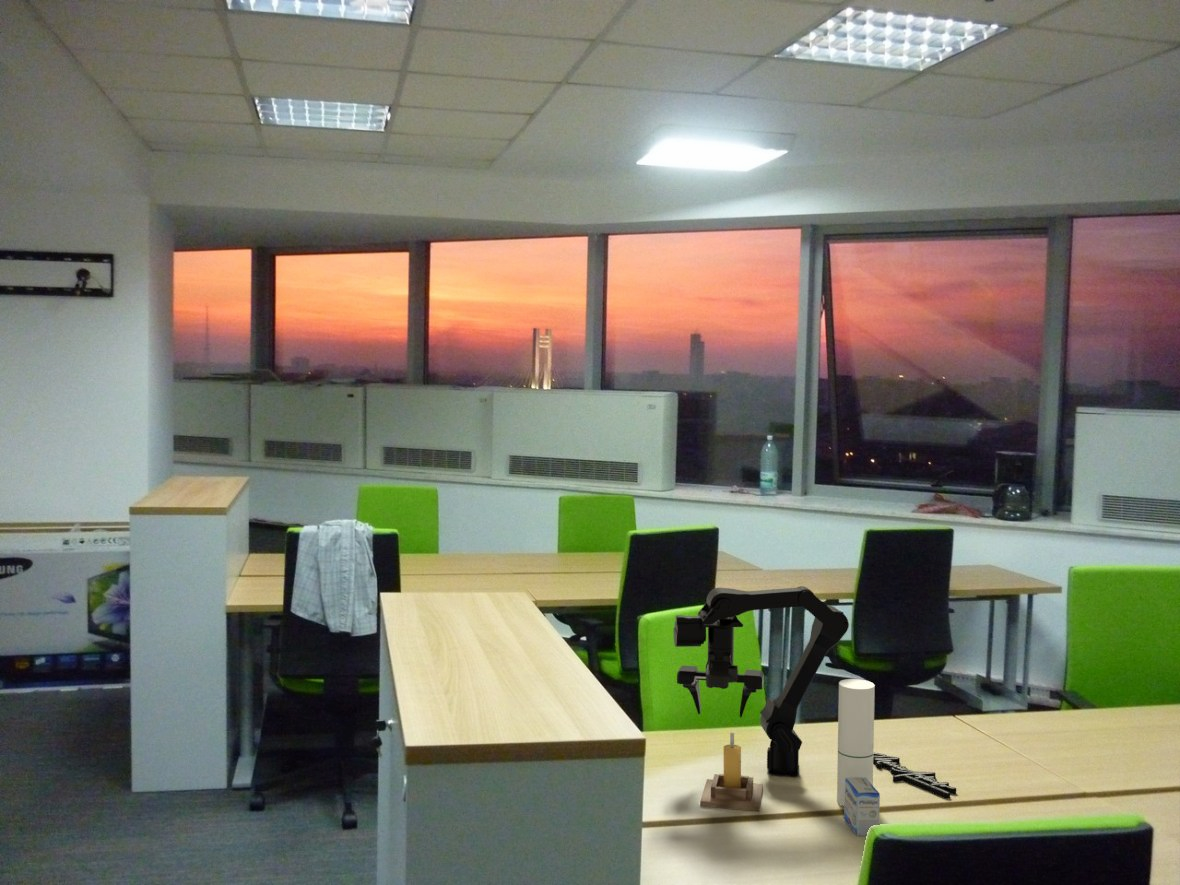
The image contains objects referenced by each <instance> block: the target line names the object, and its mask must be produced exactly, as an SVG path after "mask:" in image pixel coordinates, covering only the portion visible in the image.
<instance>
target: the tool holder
mask: <svg viewBox="0 0 1180 885" xmlns="http://www.w3.org/2000/svg"><path fill="white" fill-rule="evenodd" d="M763 790H764V784H763V783H758V782H757V783H754V777H753V776H752V777H751V776H749V775H742V774H741V789H739V788H727V787H724V773H718V774H717V773H715V774H714V775H713V778H712V779H711V778H706V781H705V784H704V787H703V791H702V794H701V798H700V802H699V806H700V807H709V808H719V809H729V808H731V809H730V810H739V809H740V810H741V811H750V810H753V811H752V812H760V809H761V801H762V797H763ZM743 809H744V810H743Z"/></svg>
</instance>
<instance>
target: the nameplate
mask: <svg viewBox="0 0 1180 885" xmlns="http://www.w3.org/2000/svg"><path fill="white" fill-rule="evenodd" d="M900 758H901V757H897V756H889V755H887V754H884V753H879V752H873V766H874V765H875V768H876V769H877V770H882V769H885V770H888V771H890V774H891V775H892V783H899V782H905V783H907V784H909V785H912V786H914V787H917V788H919V789H921V790H924V791H926V792H929V793H931V794H933V795H936V796H938V797H941V798H943V799H945V800H949V799H951V795H956V794H957V788H956V787H953V786H950V783H949V782H947V781H946V782H939V781H938V780H937V778H936V772H934V771H914V770H912V769H911V770H910V769H908V768H907V767H906V766H902V765H899V764H900Z"/></svg>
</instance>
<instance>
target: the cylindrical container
mask: <svg viewBox="0 0 1180 885" xmlns="http://www.w3.org/2000/svg"><path fill="white" fill-rule="evenodd" d="M875 686H876V685H875V684H874V683H873V682H871V681H869V680H865V679H860V678H859V679H858V678H847V679H846V678H845V679H841V680H840V681H839V682H838V712H837V713H838V714H837V715H838V716H837V718H838V719H837V720H838V722H837V768H836V769H837V777H836V778H837V782H836V783H837V784H836V786H837V787H836V802H838V803H839V804H841V805H843V806H844V804H845V779H846V778H851V777H863V778H866V779H867V780H868V781H869V782H870V783H871V784H872V786H873V787H874V764H873V753H874V748H875V747H874V741H875V740H874V739H875ZM838 803H837V804H838ZM839 804H838V805H839ZM841 805H840V806H841ZM843 806H842V807H843Z"/></svg>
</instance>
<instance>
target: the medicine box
mask: <svg viewBox="0 0 1180 885" xmlns="http://www.w3.org/2000/svg"><path fill="white" fill-rule="evenodd" d="M880 796H881V795H880V792H879V791H878V790H877V789H876V787H875V786H874V785H873V786H872V784H871V783H870V782H869V781H868V780H867V779H866V778H863V777H851V778H846V779H845V804H844V807H843V810H844V811H843V812H844V813H843V819H844V820H845V822H846V823H847V825H848V826H849V827H850V828H851V829H852V831H853V832H854V834H856V836H857V837H867V836H866V835H867V832H868V830H869V828H870V827H871V826H873V825H878V824H879V825H880V805H881V804H880V803H881V801H880V800H881V797H880Z"/></svg>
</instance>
